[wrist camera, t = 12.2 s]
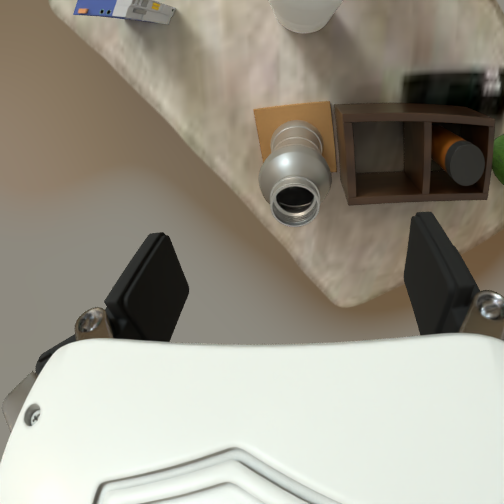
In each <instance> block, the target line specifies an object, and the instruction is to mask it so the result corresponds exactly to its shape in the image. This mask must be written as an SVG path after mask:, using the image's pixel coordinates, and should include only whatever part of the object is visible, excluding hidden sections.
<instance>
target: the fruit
mask: <svg viewBox="0 0 504 504" xmlns="http://www.w3.org/2000/svg"><path fill="white" fill-rule="evenodd" d="M492 169H493V171H494V174H495V176H496V177H497V178H498V179H499V181H500V182H501V183H502V184H503V185H504V134H503V135H501V136H500V137H498V138H496V139H495V141H494V148H493V159H492Z"/></svg>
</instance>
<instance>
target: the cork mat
mask: <svg viewBox="0 0 504 504" xmlns="http://www.w3.org/2000/svg"><path fill="white" fill-rule="evenodd" d="M254 115H255V120H256V126H257V131H258V136H259V142H260V147H261V153H262V158H263V163H264V161H265V160H266V158H267V157H268V156H269V155H270V154H271V146H270V143H271V138H272V135H273V133H274V132H275V130H276V129H277V128H278V127H279V126H281V125H282V124H284V123H286V122H288V121H292V120H302V121H306V122H308V123H310V124H312V125H313V126H315V127H316V128H317V129H318V131H319V132H320V134H321V135H322V138H323V151H322V156H323V157H324V159H325V160H326V162H327V164H328V166H329V168H330V172H337V168H336V155H335V144H334V134H333V124H332V115H331V107H330V101H325V102H312V103H301V104H292V105H283V106H275V107H267V108H260V109H254Z"/></svg>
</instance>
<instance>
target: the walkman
mask: <svg viewBox="0 0 504 504" xmlns="http://www.w3.org/2000/svg"><path fill="white" fill-rule="evenodd" d="M175 9H176V8H174V7H171V6H168V5H165V4H162V3H159V2H156V1H153V0H78V1H77V4H76V7H75V11H74V14H73V15H87V16H101V17H111V18H120V19H129V20H138V21H146V22H153V23H161V24H167V25H169V22H170V19H171V16H172V17H173V14H174V12H175Z"/></svg>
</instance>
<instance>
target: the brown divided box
mask: <svg viewBox="0 0 504 504" xmlns="http://www.w3.org/2000/svg"><path fill="white" fill-rule="evenodd" d="M334 110H335V119H336V129H337V139H338V150H339V163H340V177H341V183H342V186H343V189H344V192H345V196H346V199H347V202H348V205H363V204H381V203H400V202H424V201H454V200H487V198H488V191H489V185H490V177H491V169H492V159H493V148H494V132H495V119H493V118H491V117H489V116H486V115H484V114H482V113H479V112H477V111H475V110H472V109H470V108H467V107H461V106H450V105H436V104H416V103H357V104H336V105H334ZM377 121H403V136H404V171H398V172H372V173H355V155H354V140H353V127H352V122H377ZM432 122H443V123H459V124H461V132H460V137H461V138H463V139H464V140H466V141H469V142H470V143H472V144H474V145H475V146H477V147H478V148H479V149H480V150H481V152H482V153H483V156H484V160H485V167H484V171H483V174H482V176H481V177H480V179H479V180H478V181H477V182H476V183H474V184H472V185H469V186H462V185H460V184H458V183H457V182H455V181H454V180H453V179H452V178H451V177H450V176H449V174H448V173H447V172H446V171H431V149H432Z"/></svg>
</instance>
